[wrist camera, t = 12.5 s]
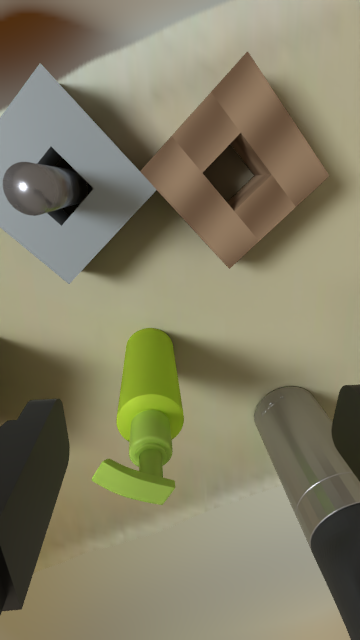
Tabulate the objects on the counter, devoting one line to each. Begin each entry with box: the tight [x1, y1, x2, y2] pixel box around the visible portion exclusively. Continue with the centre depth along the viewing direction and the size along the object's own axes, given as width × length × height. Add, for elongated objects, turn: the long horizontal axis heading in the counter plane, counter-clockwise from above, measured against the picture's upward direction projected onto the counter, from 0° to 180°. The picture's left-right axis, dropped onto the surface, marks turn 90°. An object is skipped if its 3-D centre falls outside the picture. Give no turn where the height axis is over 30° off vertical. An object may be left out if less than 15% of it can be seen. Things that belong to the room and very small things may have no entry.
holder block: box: [140, 52, 329, 269], centre depth 30 cm, size 12×12×5 cm
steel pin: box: [3, 162, 88, 216], centre depth 25 cm, size 3×3×12 cm
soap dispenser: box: [92, 328, 184, 505], centre depth 30 cm, size 6×7×20 cm
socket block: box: [0, 64, 156, 284], centre depth 29 cm, size 12×12×5 cm
